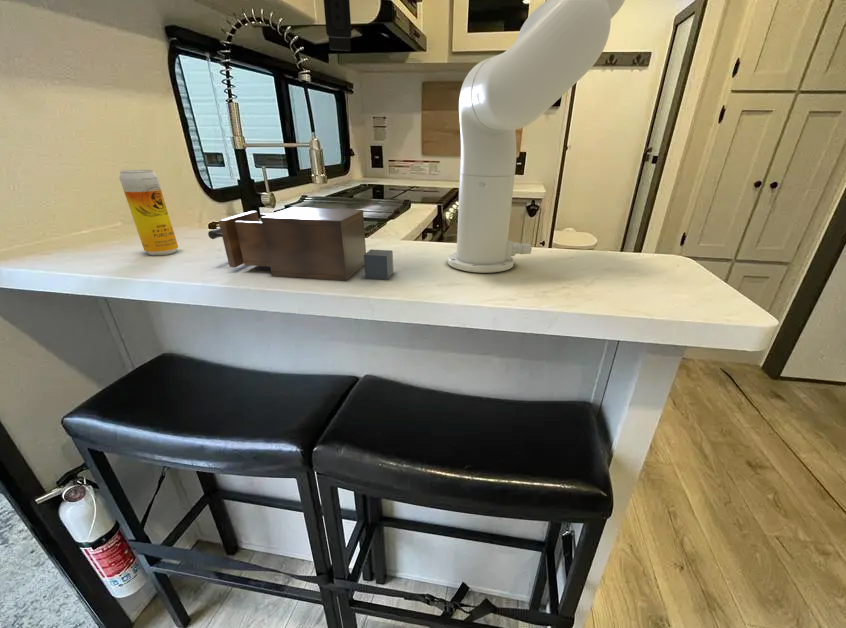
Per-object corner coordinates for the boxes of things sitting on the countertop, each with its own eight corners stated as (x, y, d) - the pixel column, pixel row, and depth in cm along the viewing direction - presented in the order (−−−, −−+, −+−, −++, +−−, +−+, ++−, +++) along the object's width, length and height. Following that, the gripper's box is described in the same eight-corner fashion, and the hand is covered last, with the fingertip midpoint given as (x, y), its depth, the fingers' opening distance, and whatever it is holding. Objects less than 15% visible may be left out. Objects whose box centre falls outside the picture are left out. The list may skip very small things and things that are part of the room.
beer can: (164, 257, 82) (137, 172, 74) (138, 255, 83) (108, 171, 75) (186, 249, 87) (162, 169, 79) (161, 248, 88) (135, 169, 80)
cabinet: (271, 275, 72) (260, 217, 67) (300, 259, 82) (292, 206, 77) (346, 280, 70) (340, 220, 65) (366, 263, 80) (363, 209, 75)
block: (372, 271, 75) (370, 249, 73) (393, 273, 74) (392, 250, 72) (365, 278, 71) (363, 254, 69) (387, 279, 71) (386, 256, 69)
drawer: (207, 265, 74) (195, 219, 70) (240, 251, 82) (230, 210, 78) (295, 271, 71) (288, 223, 67) (319, 256, 80) (314, 213, 76)
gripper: (359, -181, 43) (369, 33, 51) (356, -101, 57) (364, 55, 66) (284, -192, 41) (307, 29, 50) (300, -108, 56) (316, 52, 65)
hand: (339, 44), depth 58 cm, fingers open, 9 cm apart
